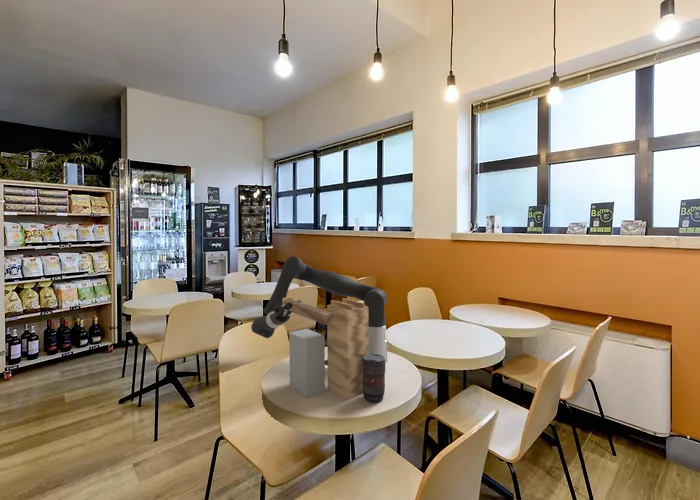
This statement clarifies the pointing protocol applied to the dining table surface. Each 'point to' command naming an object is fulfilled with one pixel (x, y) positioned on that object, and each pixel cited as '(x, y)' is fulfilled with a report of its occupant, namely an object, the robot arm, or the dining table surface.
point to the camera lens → (373, 377)
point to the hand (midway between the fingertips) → (295, 303)
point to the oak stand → (347, 347)
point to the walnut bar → (310, 311)
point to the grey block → (307, 362)
